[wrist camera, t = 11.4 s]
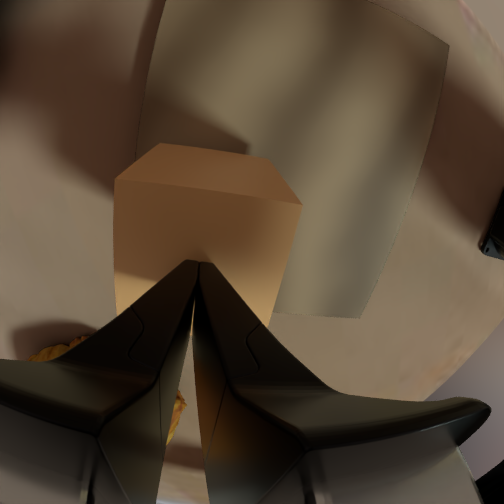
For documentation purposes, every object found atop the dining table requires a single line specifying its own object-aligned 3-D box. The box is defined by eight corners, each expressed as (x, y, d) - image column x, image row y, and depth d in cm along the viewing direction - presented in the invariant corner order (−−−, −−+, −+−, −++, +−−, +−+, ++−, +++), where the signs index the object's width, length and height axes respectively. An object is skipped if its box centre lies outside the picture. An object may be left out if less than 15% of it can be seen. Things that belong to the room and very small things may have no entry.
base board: (438, 46, 13) (449, 45, 12) (353, 308, 22) (359, 318, 21) (182, -35, 10) (180, -43, 9) (133, 282, 19) (129, 293, 18)
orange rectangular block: (268, 158, 14) (302, 205, 8) (247, 254, 16) (262, 342, 11) (160, 142, 13) (114, 178, 7) (150, 241, 16) (118, 325, 10)
